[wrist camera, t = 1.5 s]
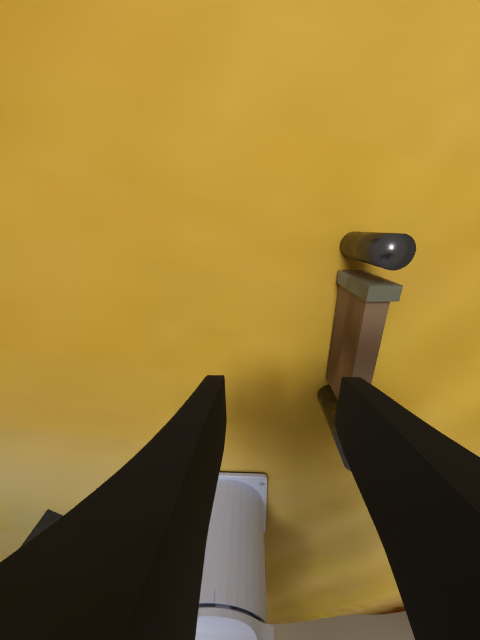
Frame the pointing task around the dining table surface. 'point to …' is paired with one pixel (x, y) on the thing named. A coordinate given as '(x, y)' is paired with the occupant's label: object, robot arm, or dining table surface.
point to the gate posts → (380, 252)
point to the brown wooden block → (358, 325)
